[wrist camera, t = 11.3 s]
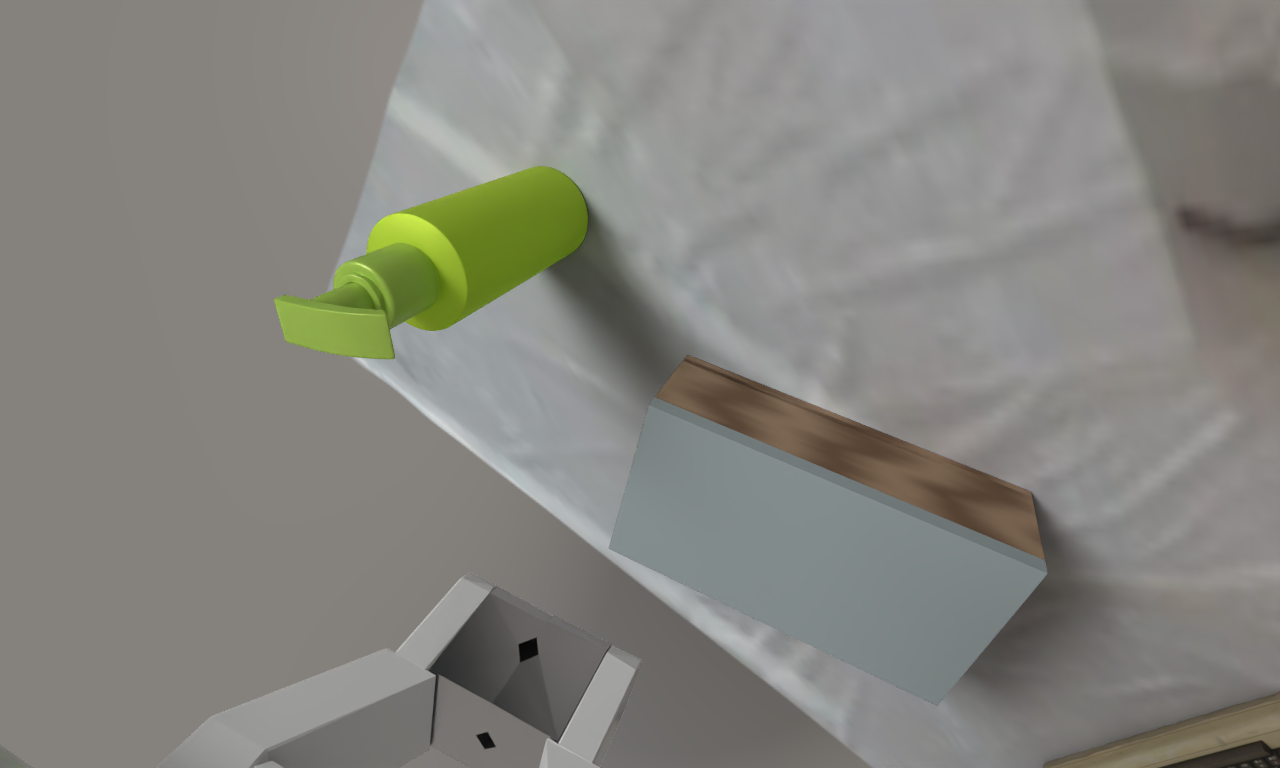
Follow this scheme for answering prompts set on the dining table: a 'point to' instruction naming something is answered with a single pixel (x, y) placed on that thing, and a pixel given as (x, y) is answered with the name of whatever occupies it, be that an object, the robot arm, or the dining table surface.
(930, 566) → the lid
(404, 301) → the soap dispenser
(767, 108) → the dining table surface
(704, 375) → the wooden box
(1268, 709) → the computer
